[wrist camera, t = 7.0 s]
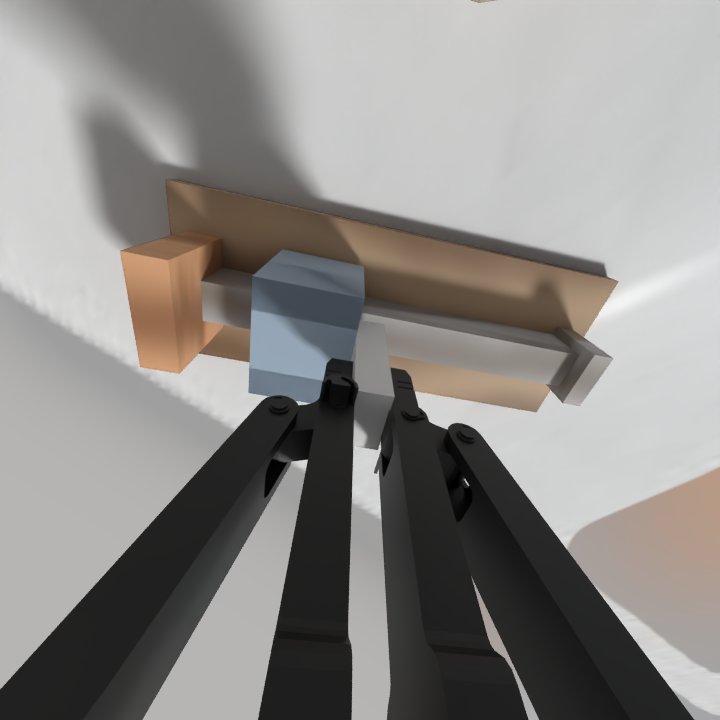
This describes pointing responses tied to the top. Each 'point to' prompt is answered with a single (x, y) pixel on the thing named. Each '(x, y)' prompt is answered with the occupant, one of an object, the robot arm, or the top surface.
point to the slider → (302, 322)
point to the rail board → (399, 280)
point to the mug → (482, 0)
